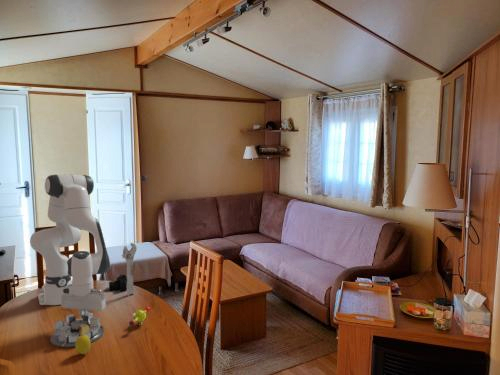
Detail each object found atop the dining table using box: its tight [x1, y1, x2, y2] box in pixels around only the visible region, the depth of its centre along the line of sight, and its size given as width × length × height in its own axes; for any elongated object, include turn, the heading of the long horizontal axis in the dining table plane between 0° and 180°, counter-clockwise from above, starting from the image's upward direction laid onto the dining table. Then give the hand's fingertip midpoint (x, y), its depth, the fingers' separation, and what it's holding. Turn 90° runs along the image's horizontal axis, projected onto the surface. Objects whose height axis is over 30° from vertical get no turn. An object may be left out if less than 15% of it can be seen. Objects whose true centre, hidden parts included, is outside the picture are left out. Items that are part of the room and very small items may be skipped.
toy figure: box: [128, 306, 151, 327], centre depth 179 cm, size 18×6×7 cm, turn 169°
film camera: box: [108, 274, 127, 293], centre depth 222 cm, size 15×10×9 cm, turn 21°
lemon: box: [74, 335, 92, 355], centre depth 152 cm, size 6×6×8 cm
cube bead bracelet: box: [53, 311, 101, 343], centre depth 168 cm, size 18×18×6 cm
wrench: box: [121, 242, 137, 297], centre depth 211 cm, size 8×2×30 cm, turn 134°
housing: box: [49, 320, 105, 349], centre depth 168 cm, size 21×21×6 cm
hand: (83, 318), depth 175 cm, fingers closed, pressing on cube bead bracelet
